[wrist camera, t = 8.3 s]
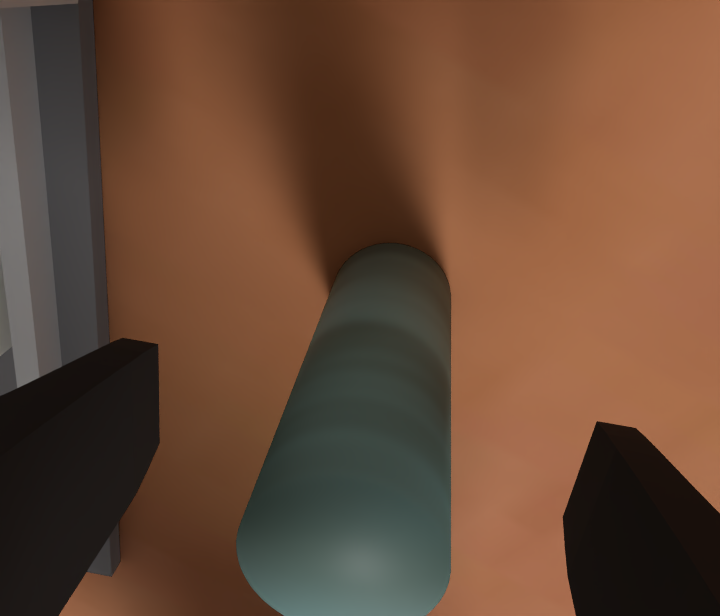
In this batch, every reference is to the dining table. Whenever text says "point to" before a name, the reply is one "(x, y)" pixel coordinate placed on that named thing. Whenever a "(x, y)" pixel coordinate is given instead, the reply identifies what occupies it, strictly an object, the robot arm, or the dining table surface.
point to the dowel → (362, 452)
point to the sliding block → (4, 317)
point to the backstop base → (51, 197)
